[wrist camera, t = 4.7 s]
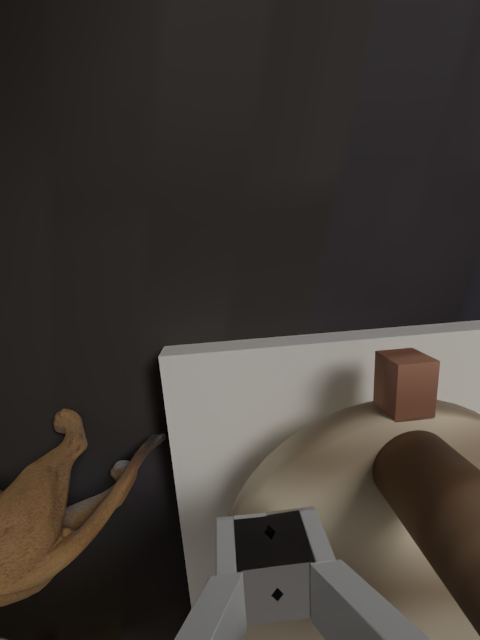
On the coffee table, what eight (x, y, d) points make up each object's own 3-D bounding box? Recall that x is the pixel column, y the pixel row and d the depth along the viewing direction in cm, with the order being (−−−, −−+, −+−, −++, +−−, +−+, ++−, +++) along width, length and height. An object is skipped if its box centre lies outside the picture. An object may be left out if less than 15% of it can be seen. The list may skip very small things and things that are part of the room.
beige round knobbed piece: (202, 366, 11) (182, 515, 5) (570, 333, 12) (966, 423, 6) (232, 682, 15) (244, 999, 9) (510, 639, 16) (706, 896, 9)
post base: (164, 346, 14) (107, 444, 7) (531, 315, 15) (818, 371, 8) (200, 634, 18) (189, 883, 11) (486, 593, 20) (646, 795, 12)
